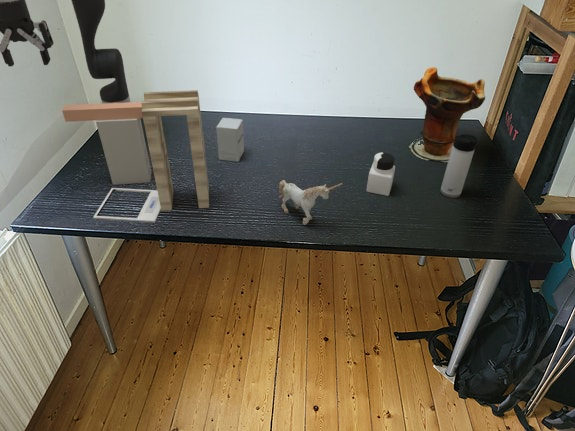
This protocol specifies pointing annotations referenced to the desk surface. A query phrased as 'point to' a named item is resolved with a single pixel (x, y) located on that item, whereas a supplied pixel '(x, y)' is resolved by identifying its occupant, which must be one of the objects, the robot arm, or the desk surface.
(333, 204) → the desk surface
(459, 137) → the travel mug
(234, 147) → the supplement box
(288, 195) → the unicorn figurine
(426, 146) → the decorative vase
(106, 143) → the post
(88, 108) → the bar
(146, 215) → the photo frame
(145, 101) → the bridge
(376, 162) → the medicine bottle
